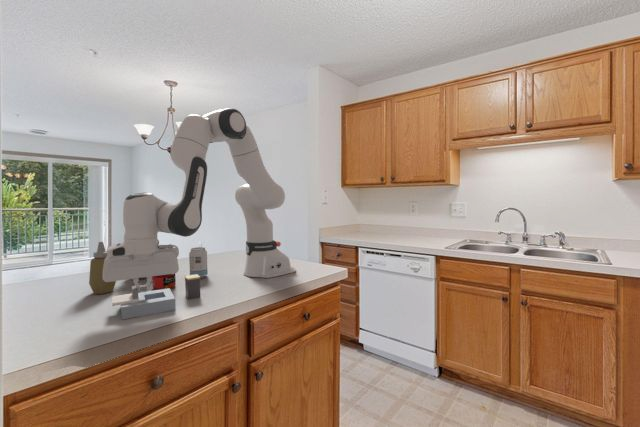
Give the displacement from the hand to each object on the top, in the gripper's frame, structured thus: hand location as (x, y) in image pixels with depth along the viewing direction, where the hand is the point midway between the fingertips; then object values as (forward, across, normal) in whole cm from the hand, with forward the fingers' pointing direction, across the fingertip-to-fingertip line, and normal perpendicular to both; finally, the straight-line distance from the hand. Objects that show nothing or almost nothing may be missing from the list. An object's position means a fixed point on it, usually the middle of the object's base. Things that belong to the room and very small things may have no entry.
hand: (143, 291), depth 99 cm
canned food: (+6, -8, -20) cm, 22 cm away
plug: (+6, -15, -4) cm, 17 cm away
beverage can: (+6, -22, -28) cm, 36 cm away
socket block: (+6, -1, 0) cm, 6 cm away
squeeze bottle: (+6, +11, -26) cm, 29 cm away
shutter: (+2, +5, 0) cm, 5 cm away
